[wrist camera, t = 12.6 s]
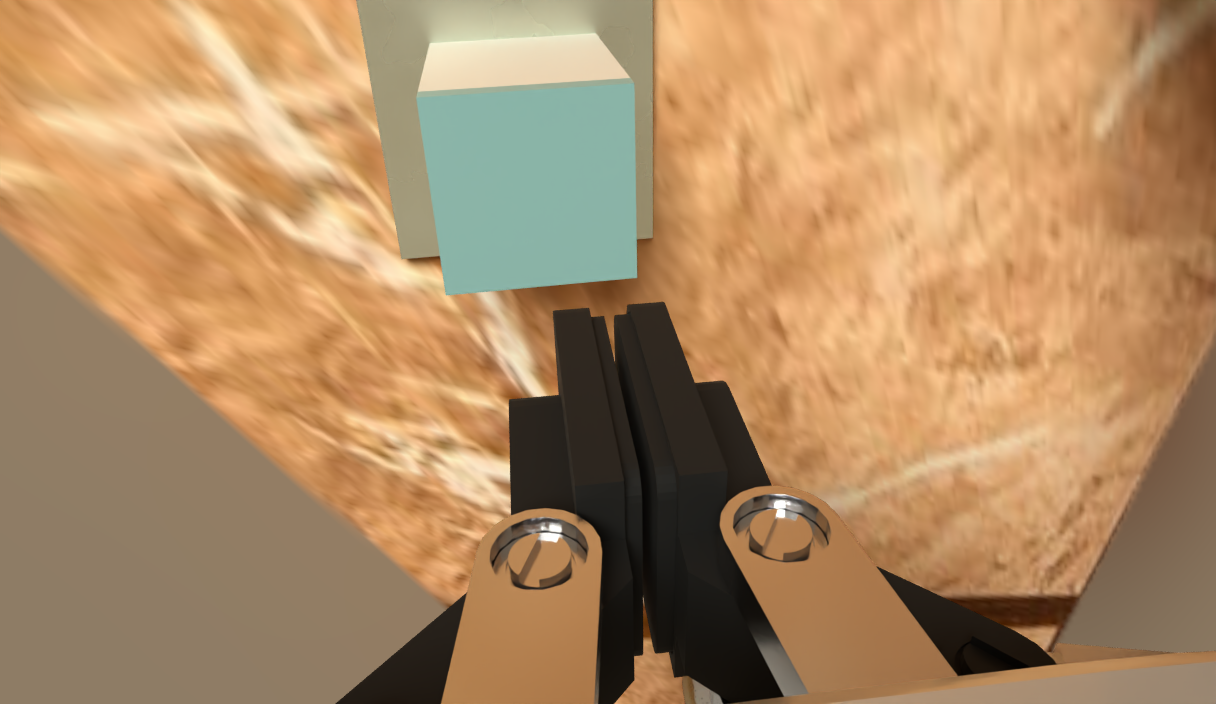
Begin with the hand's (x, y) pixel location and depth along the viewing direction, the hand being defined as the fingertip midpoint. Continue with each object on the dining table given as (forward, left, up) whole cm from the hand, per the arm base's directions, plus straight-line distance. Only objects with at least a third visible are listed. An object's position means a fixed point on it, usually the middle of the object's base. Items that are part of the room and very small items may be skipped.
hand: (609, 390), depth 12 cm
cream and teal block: (0, 0, -17) cm, 17 cm away
